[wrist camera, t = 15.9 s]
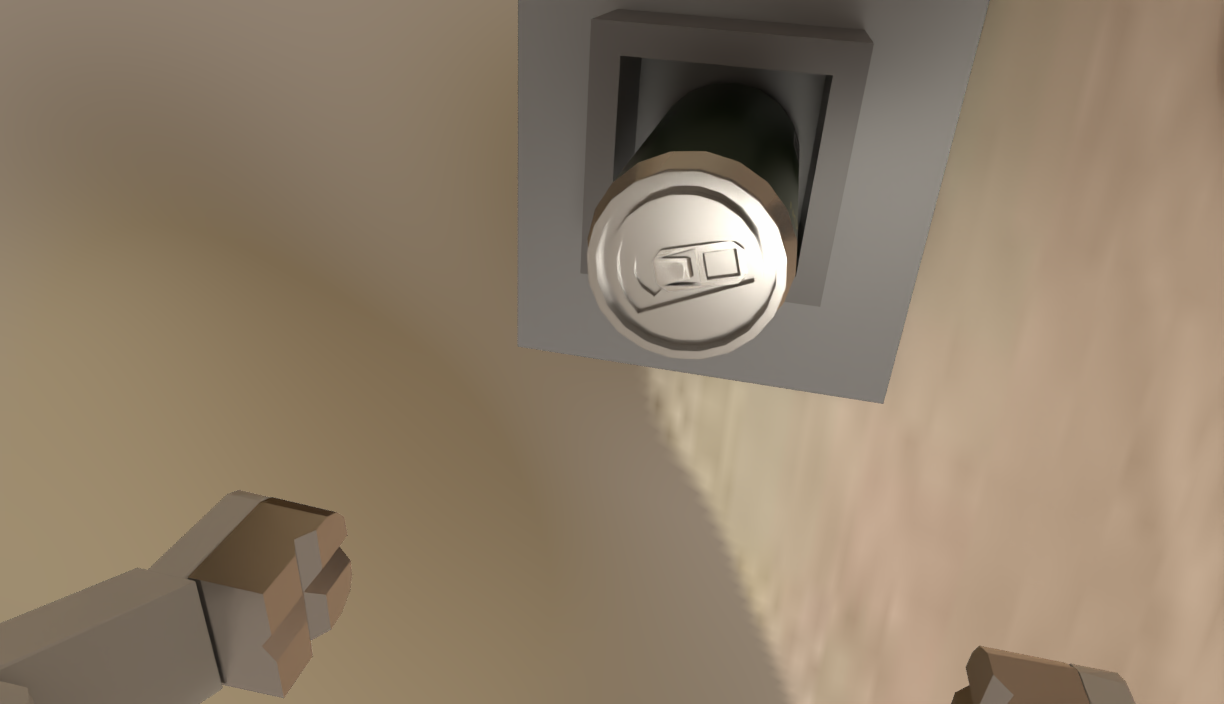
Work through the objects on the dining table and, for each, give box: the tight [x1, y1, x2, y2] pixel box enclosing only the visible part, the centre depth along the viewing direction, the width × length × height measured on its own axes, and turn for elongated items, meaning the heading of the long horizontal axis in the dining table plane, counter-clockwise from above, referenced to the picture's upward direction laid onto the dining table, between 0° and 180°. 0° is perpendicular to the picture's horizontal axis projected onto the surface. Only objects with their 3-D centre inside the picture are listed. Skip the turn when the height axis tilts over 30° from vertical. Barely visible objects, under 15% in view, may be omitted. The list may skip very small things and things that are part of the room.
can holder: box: [518, 0, 990, 404], centre depth 28 cm, size 20×16×5 cm
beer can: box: [587, 83, 799, 359], centre depth 24 cm, size 5×5×12 cm
